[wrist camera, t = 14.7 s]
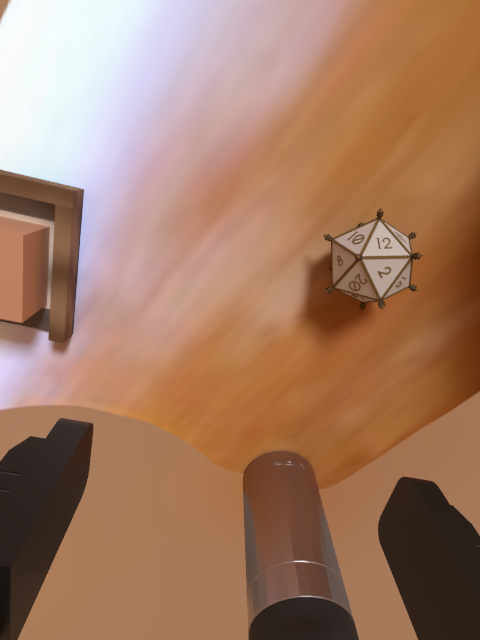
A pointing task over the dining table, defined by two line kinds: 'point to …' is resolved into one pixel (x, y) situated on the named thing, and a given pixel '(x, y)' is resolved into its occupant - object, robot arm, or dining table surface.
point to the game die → (372, 262)
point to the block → (23, 268)
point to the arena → (65, 227)
